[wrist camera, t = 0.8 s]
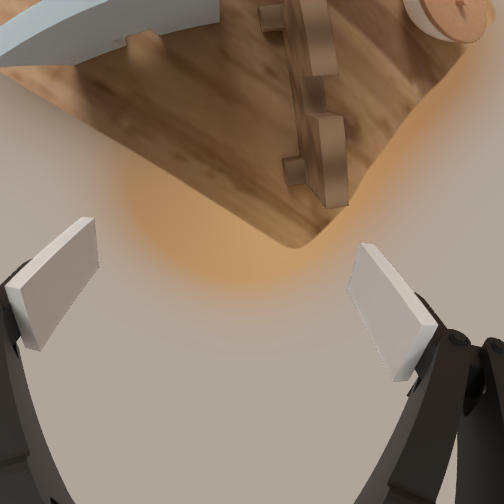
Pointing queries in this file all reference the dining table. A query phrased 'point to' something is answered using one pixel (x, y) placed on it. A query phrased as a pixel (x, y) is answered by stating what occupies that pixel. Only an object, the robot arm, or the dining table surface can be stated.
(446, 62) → the dining table surface
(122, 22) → the slotted plate
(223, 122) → the dining table surface
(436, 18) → the lidded jar
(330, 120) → the walnut board
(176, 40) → the dining table surface
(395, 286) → the robot arm
